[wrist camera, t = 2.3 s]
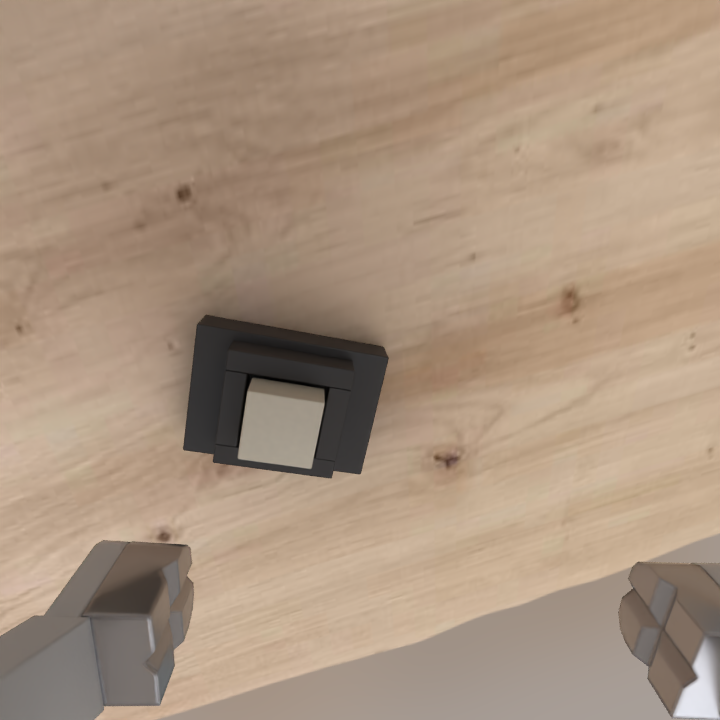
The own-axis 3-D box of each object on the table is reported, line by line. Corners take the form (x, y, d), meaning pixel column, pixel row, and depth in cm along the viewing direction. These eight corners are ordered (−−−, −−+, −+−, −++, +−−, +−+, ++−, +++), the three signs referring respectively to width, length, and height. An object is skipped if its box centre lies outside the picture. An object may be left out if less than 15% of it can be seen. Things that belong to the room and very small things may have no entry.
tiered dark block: (191, 433, 31) (174, 466, 27) (205, 314, 28) (188, 332, 25) (357, 457, 32) (363, 491, 29) (383, 346, 30) (393, 367, 26)
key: (242, 441, 27) (236, 459, 25) (252, 376, 26) (247, 390, 24) (311, 450, 28) (311, 469, 26) (324, 388, 27) (324, 403, 25)
